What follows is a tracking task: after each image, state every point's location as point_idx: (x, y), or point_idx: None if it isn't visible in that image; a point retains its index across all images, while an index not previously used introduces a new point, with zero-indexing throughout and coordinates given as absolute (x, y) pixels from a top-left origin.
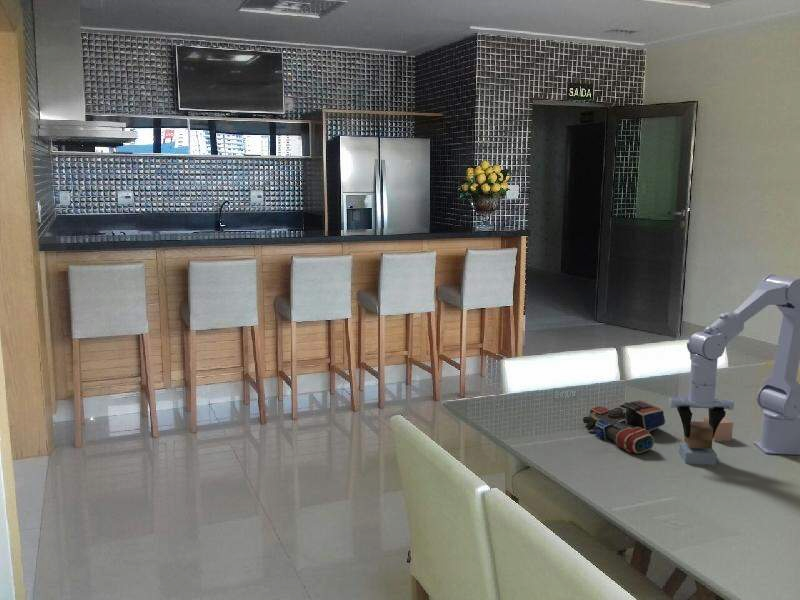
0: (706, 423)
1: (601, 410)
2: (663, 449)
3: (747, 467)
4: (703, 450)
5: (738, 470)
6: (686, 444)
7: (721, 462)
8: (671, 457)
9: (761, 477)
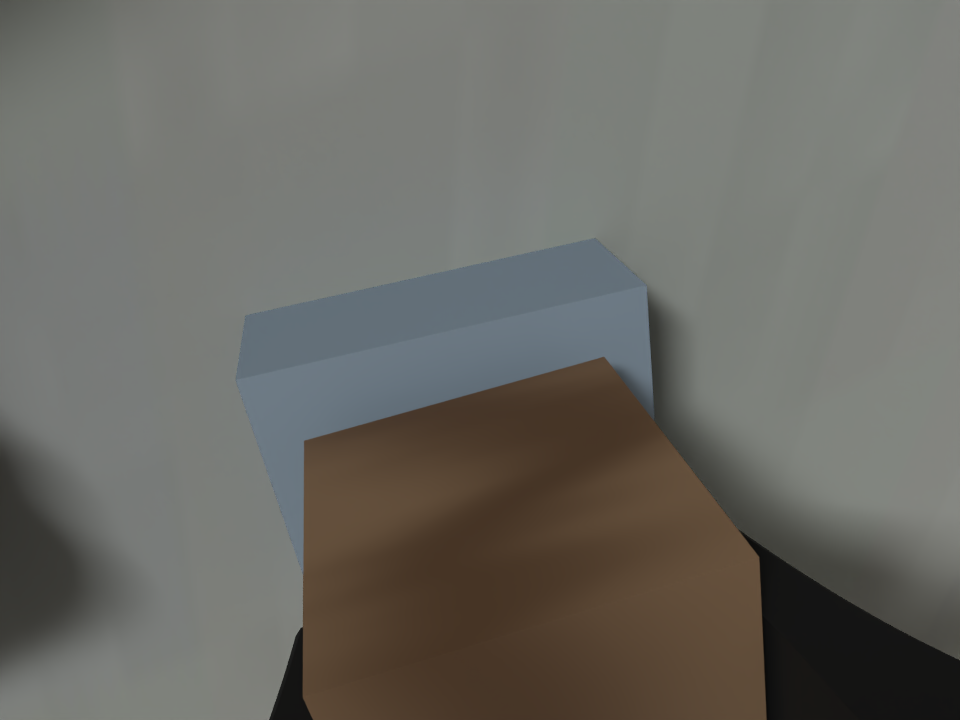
0: (728, 649)
1: None
2: (31, 276)
3: (884, 447)
4: None
5: (783, 544)
6: (338, 426)
7: (686, 423)
8: (179, 501)
9: (908, 600)
